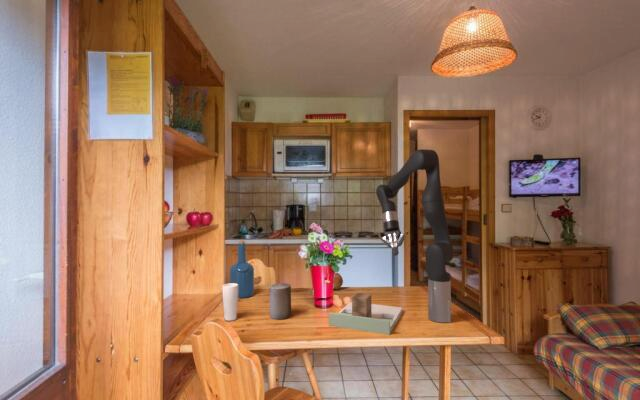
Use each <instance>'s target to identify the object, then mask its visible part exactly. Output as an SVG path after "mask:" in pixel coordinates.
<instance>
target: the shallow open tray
mask: <svg viewBox="0 0 640 400" xmlns="http://www.w3.org/2000/svg"><path fill="white" fill-rule="evenodd" d="M403 311H404V310H403V306H402V307H401V306H395V305H394V306H393V305H384V304H375V303H371V313H372V318H368V317H361V316H353V315H352V301H350V302H348V304H346V306H344V307H343V308H342V309H341V310H340V311H338V312H329V313H328V326H329V327H330V326H331V327H336V328H342V329H350V330H354V331H355V330H356V331H361V330H362V331H363V332H368V333H369V332H370V333H375V334H383V335H389V336H390V335H391V333H392V331H393V329H394V327H395V326H396V324H397V322H398V320H399V319H400V317H401V315H402V313H403Z"/></svg>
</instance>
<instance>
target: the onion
mask: <svg viewBox="0 0 640 400" xmlns="http://www.w3.org/2000/svg"><path fill="white" fill-rule="evenodd" d="M343 284H344V279H343V276H342V275H341V274H340V273H339V272H337V273H335V277H334V289H333V290H336V291H337V290H339V289H340V288H341V287H343Z"/></svg>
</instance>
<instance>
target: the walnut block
mask: <svg viewBox="0 0 640 400" xmlns="http://www.w3.org/2000/svg"><path fill="white" fill-rule="evenodd" d="M351 302H352V315H353V316H361V317H368V318H372V313H371V304H372V294H371V293H362V292H357V293H355V294H354V295H353V296H352V297H351Z"/></svg>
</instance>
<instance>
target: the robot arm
mask: <svg viewBox="0 0 640 400" xmlns="http://www.w3.org/2000/svg"><path fill="white" fill-rule="evenodd" d="M416 171H425V174H426V183H425V186H424V190H423V192H422V196H421V205H422V212H423V216H424V218H425V219H426V222H427V224H428V225H429V227H430V229H431V230H432V234H433V238H434V242H432V243H430V244H429V245H428V246H427V247H426V250H425V271H426V274H427V282H428V283H427V285H428V286H427V288H428V290H427V295H428V296H427V298H428V299H427V300H428V302H427V305H428V307H427V308H428V309H427V310H428V311H427V314H428V320H430V321H432V322H436V323H451V320H452V296H451V295H452V294H451V291H452V288H451V287H452V286H451V285H452V284H451V283H452V282H451V281H452V279H451V273H449V272H448V271H447V270H446V269H447V268H446V264H447V263H450V262H451V261H452V260H453V259H454V256H455V251H454V247H453V242H452V240H451V236H450V232H449V228H448V221H447V215H446V207H445V202H444V197H443V191H442V184H441V183H442V182H441V174H440V173H441V171H440V159H439V154H438V153H437V152H436V151H435V150H433V149H417V150H415V151H414V152H413V153H412V154H411V155H409V157H408V159H407V160H406V161H405V163H404V165H403V166H401V168H400V169H399V171H398V172H397V173H396V174H394V175H393V176H392V177H391V178H390V179H389V180H388V182H387V184H379V185H378V186H377V187H376V189H375V190H376V191H375V194H376V197H377V200H378V202H379V204H380V206H381V212H382V221H383V229H384V233H383V234H384V236H383V237H381V238H380V241H381V242H382V243H383V244H385V246H386V247H388V248H389V249H391V253H392V255H394V256H399V247H402V245H403V243H404V241H405V239H406V238H407V235H405V234H403V233H402V231H401V230H400V223H399V217H398V213H397V207H396V203H395V201H392V200H390V199H394V198H396V196H397V195H398V193H399V191H400V190H401V189H402V188H403V187H404V186H406V185H407V184H408V182H409V180H410V176H411V175H412V174H413V173H415V172H416ZM387 240H388V241H389V242H387ZM389 243H390V244H389Z"/></svg>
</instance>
